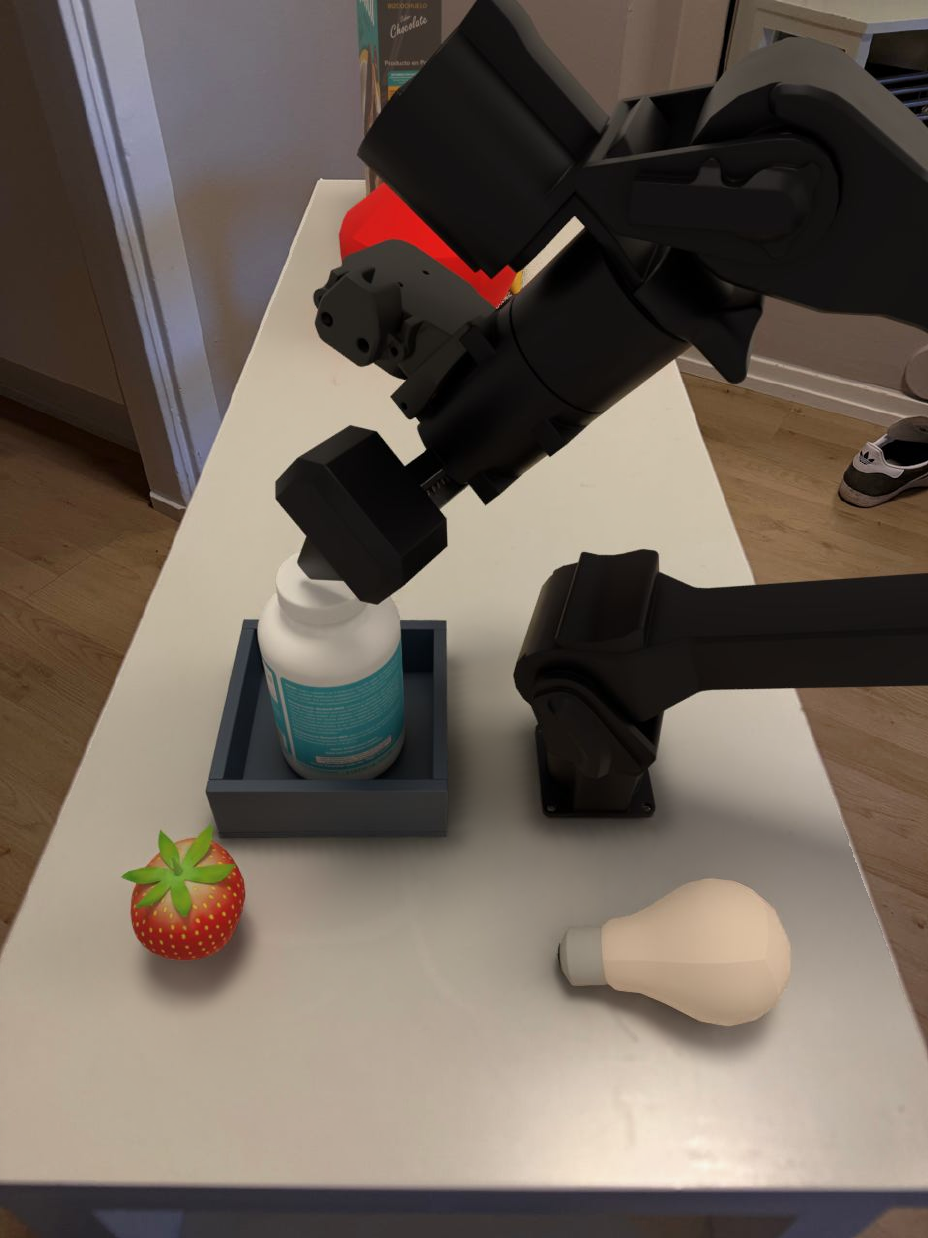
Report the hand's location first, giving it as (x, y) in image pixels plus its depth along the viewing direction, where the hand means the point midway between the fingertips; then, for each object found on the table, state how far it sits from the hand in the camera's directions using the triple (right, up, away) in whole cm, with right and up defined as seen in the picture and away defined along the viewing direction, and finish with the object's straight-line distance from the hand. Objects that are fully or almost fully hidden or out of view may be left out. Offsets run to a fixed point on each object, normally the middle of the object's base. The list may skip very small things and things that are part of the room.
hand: (360, 527), depth 45 cm
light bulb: (+15, -23, -1) cm, 27 cm away
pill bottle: (-2, -12, +7) cm, 15 cm away
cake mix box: (-2, +41, +61) cm, 74 cm away
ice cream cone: (+10, +37, +57) cm, 68 cm away
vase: (+2, +27, +47) cm, 55 cm away
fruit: (-8, -21, -1) cm, 23 cm away
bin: (-2, -12, +8) cm, 15 cm away
